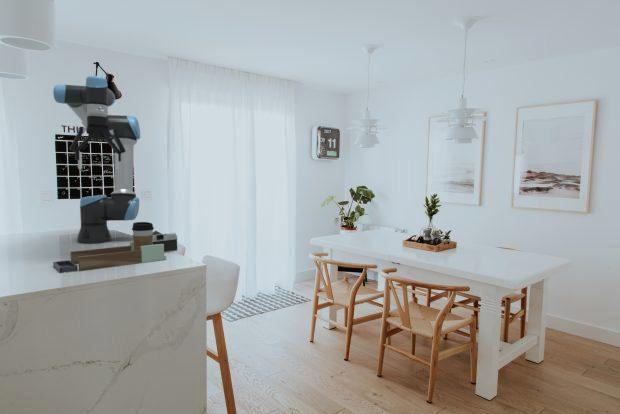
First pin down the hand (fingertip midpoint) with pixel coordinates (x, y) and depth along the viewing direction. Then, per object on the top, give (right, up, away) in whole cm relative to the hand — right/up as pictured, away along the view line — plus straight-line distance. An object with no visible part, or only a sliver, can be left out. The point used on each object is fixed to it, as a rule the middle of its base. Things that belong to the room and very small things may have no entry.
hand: (98, 169), depth 165 cm
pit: (-4, -38, -16) cm, 41 cm away
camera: (+18, -36, +19) cm, 44 cm away
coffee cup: (+17, -37, +3) cm, 41 cm away
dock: (+18, -37, +4) cm, 41 cm away
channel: (+6, -37, -6) cm, 38 cm away
